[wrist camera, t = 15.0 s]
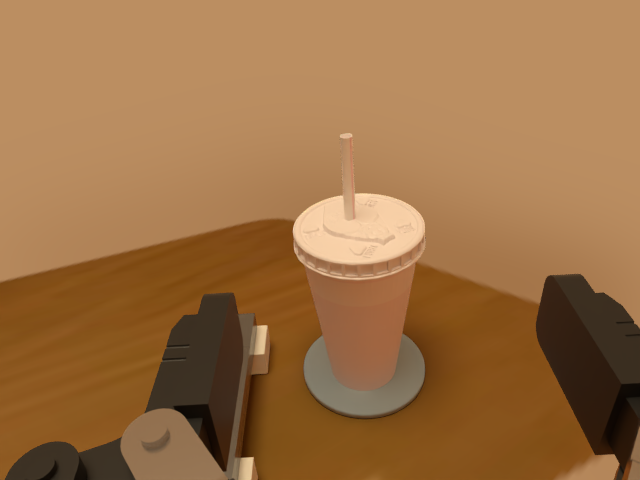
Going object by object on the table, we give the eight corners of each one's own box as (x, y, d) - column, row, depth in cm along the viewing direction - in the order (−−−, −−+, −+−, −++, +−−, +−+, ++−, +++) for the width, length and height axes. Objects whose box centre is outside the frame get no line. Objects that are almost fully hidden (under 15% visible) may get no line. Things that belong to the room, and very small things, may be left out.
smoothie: (363, 313, 34) (355, 103, 27) (443, 365, 30) (462, 134, 22) (286, 365, 31) (252, 143, 23) (364, 433, 27) (354, 189, 19)
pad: (324, 434, 27) (323, 429, 27) (291, 343, 33) (290, 338, 33) (446, 397, 29) (447, 392, 29) (395, 317, 34) (395, 312, 34)
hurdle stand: (253, 527, 23) (248, 507, 23) (199, 529, 24) (192, 509, 23) (270, 344, 33) (267, 325, 32) (232, 346, 33) (228, 327, 32)
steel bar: (234, 503, 23) (230, 487, 22) (207, 504, 23) (202, 488, 22) (257, 328, 32) (254, 313, 31) (237, 329, 32) (234, 314, 31)
